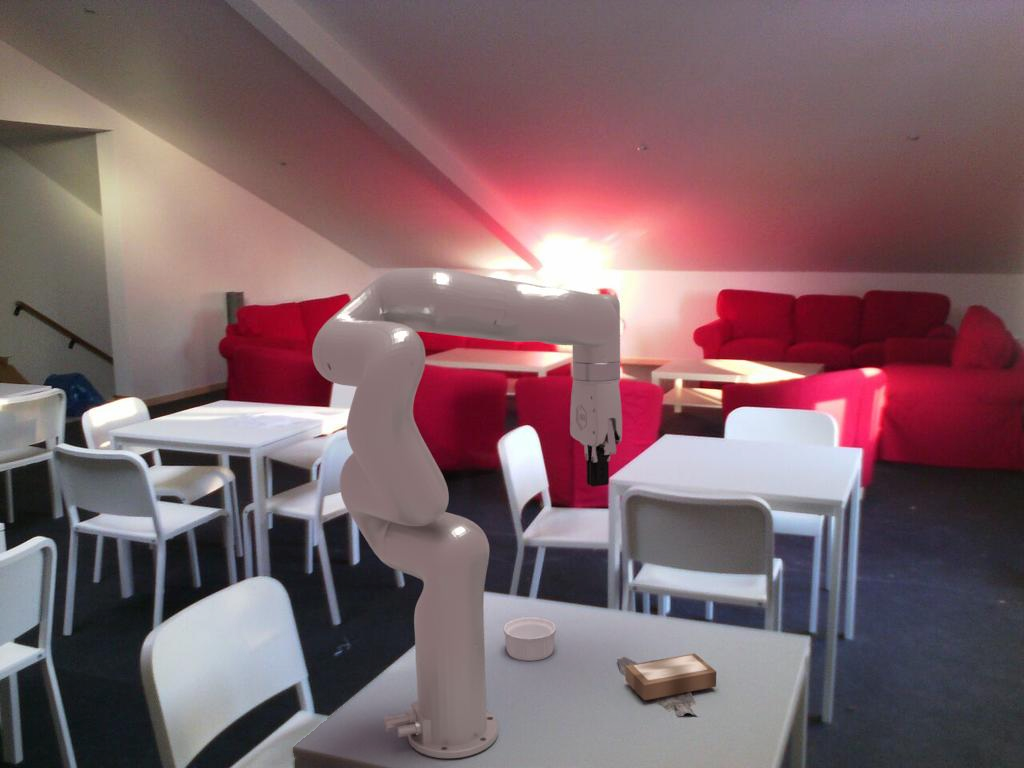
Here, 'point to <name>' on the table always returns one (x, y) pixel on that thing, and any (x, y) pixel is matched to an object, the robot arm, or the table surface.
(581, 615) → the table surface
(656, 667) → the brown wooden block
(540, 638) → the ramekin
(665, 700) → the stone slab
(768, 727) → the table surface
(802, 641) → the table surface
